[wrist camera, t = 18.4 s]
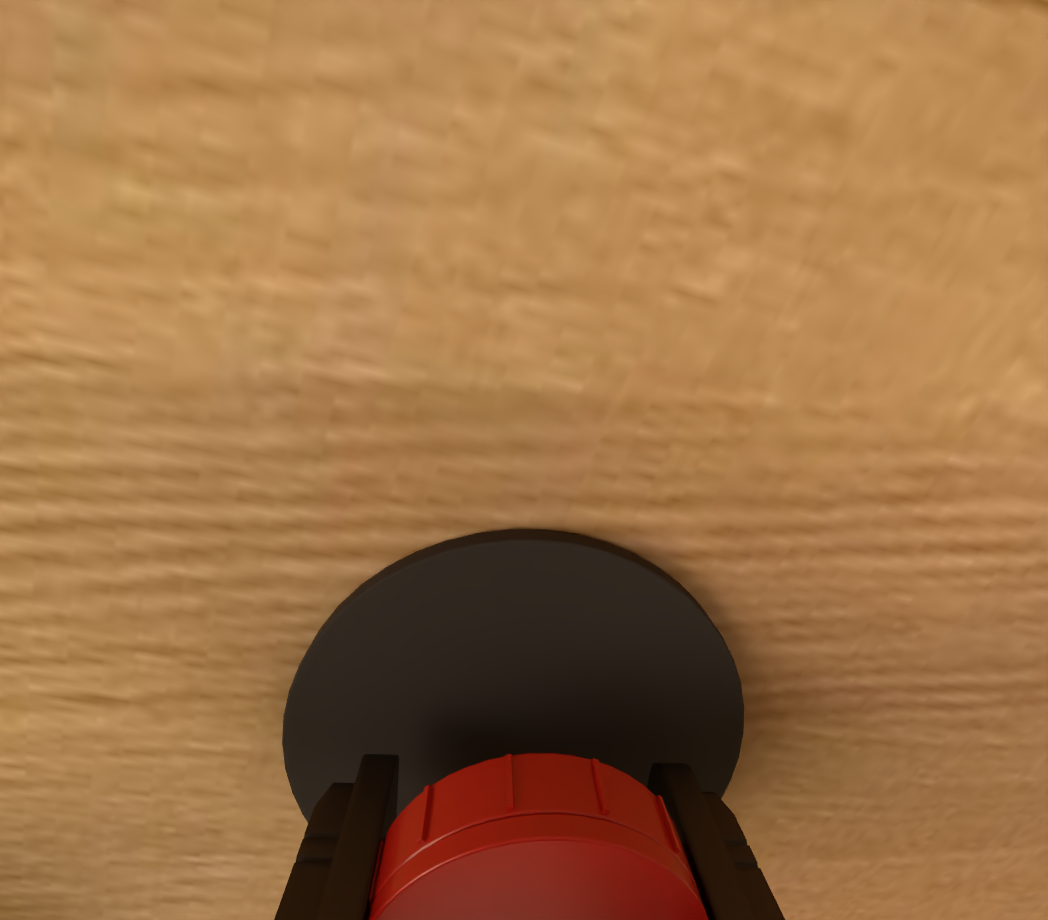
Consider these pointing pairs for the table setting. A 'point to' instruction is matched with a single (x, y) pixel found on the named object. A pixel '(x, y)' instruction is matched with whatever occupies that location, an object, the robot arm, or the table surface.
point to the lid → (534, 847)
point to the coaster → (513, 668)
